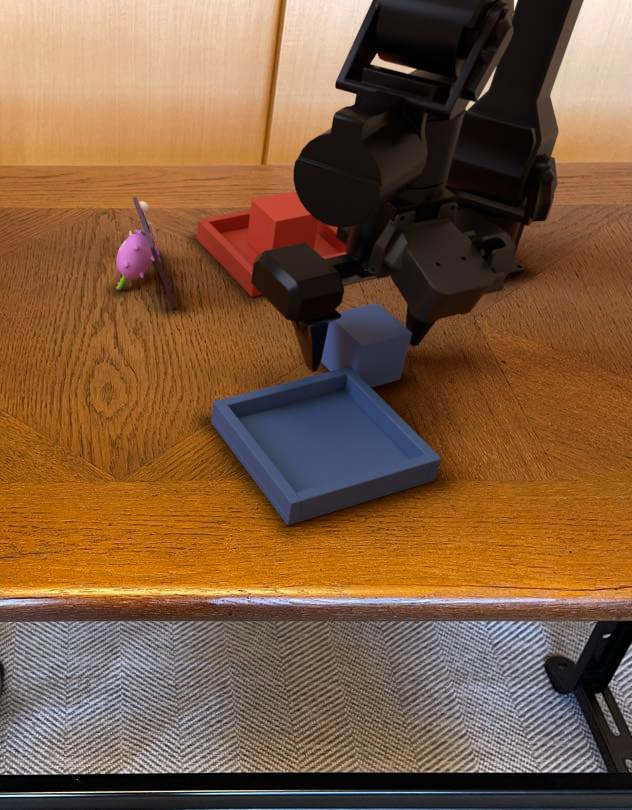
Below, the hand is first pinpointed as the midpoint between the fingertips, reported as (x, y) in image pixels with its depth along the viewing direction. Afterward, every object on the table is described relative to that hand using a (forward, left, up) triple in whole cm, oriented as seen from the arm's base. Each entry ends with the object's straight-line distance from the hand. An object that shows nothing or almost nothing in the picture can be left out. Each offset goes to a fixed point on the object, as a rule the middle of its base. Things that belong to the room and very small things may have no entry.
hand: (362, 355), depth 72 cm
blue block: (0, 0, -1) cm, 1 cm away
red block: (-3, -18, -1) cm, 18 cm away
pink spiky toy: (+11, -18, -2) cm, 21 cm away
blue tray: (+8, +7, -1) cm, 11 cm away
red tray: (-3, -18, -1) cm, 18 cm away
